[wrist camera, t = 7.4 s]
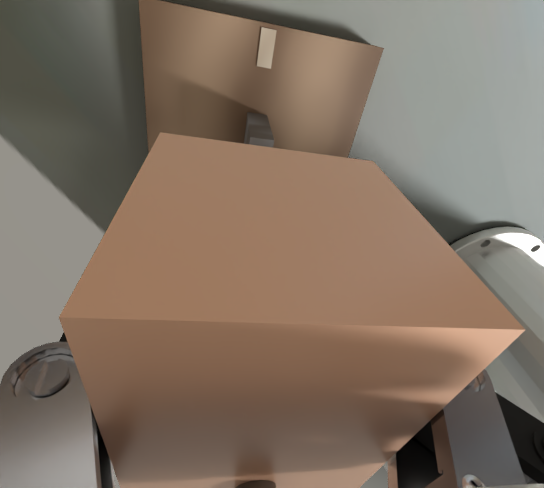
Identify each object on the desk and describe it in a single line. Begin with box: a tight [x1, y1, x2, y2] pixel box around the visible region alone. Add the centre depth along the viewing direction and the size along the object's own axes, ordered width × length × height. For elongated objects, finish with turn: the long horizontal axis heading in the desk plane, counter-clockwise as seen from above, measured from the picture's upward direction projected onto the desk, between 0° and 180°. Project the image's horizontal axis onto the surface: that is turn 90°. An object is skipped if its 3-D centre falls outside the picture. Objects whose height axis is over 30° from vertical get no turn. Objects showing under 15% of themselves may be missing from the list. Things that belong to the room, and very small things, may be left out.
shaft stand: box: [139, 0, 384, 158], centre depth 19 cm, size 13×13×7 cm
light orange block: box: [59, 132, 525, 488], centre depth 8 cm, size 6×8×7 cm
